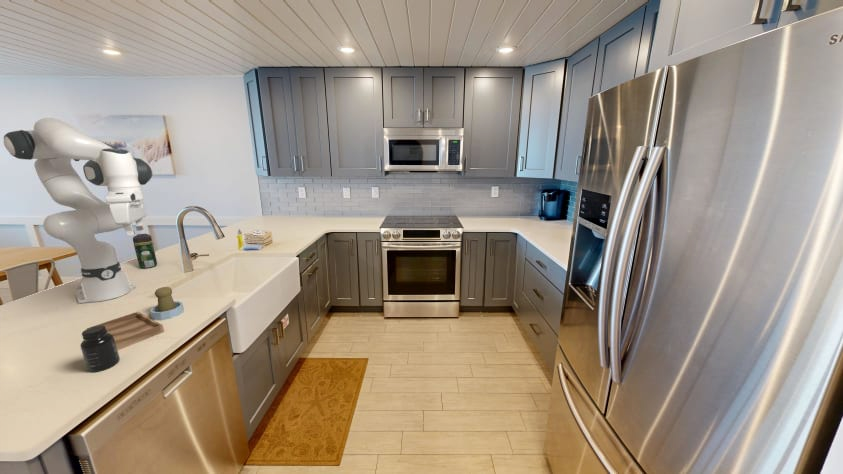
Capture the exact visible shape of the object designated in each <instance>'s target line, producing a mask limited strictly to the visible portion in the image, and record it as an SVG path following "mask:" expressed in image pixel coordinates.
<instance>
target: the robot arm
mask: <svg viewBox="0 0 843 474" xmlns="http://www.w3.org/2000/svg"><path fill="white" fill-rule="evenodd" d="M3 145H4V147H5V149H6V151H8V153H9V154H10V155H11V156H12V157H15V158H16V159H19V160H28V161H29V160H35V161H34V164H33V165H34V168H35V172H36V175H37V177H38V179H39V180H40V183H41V184H42V185H43V187H44V188H45V190H46V191H47V193H48V194H49V196H50V197H51V200H53V201H54V202H55V203H56V204H58V205H61V206H64V207H69V208H72V209H74V210H66V211H65V210H64V211H60V212H57V213H53V214H49V215H47V216H46V217H45V218H44V220H43V229H44V231H45V232H46V234H47V235H49V237H52V238H53V239H56V240H60V241H63V242H65V243H67V244H68V245H69V246H71V247H72V248H73V249H74V251H75V252H76V254H77V258H78V259H79V263H80V266H81V268H80V274H81V276H82V277H81V279H80V283H78V284H76V285H75V289H76V291H75V297H76V301H77V303H78V304H83V303H84V304H85V303H93V302H94V303H97V302H102V301H108V300H112V299H115V298H119V297H122V296H124V295H127V294H128V293H129V292H131V291H132V290H135V288H136V286H135V285H133V284H131V283H130V280H129V277H128V274H127V272H125V271H123V270H122V267H121V264H120V262H119V261H118V258H117V257H118V256H117V254H116V250H115V247H114V246H113V245H112V244H111V243H108V242H105V241H100V240H98V239H97V238H96V236H95V235H98V234H104V233H110V232H114V231H117V230H119V229H122V228H124V230H125V232H126V235H127V236H128V237H129V236H135V234H136V233H135V230H136V231H138V232H140V231H143V230H144V225H143V224H144V219H143V218H145V217H147V216H148V213H147V208H146V205H145V202H144V199H145V197H144V192H143V188H142V186H145V185H146V184H147V183H148V182H150V181H151V179H152V177H153V170H152V168H151V166H150V165H149V163H147V162H146V161H144V160H143V159H142V158H136V157H133V155H132V153H131V152H130V151H128V150H127V149H122V148H116V147H114V146H112V145H110V144H108V143H106V142H103V141H101V140H99V139H96V138H93V137H91V136H89V135H86V134H85V133H82V132H81V131H79V130H78V129H77V128H76V127H74V126H73V125H70V124H69V123H66V122H65V121H62V120H61V119H57V118H52V117H46V118H45V117H44V118H41V119H38V120H37V121H36V122H35V123H34V125H33V130H32V129H31V130H30V129H29V130H23V129H20V130H14V131H10V132H7V133H5V134H4V135H3ZM72 160H73V161H75V162H79V161H80V160H81V161H86V162H85V164H84V165H83V166H82V169H83V174H84V177H85V179H86V180H87V181H88V182H89V183H91V184H92V185H94V186H98V187H107V194H106V196H105V197H104V199H105V201H103V200H101V199H100V198H98V197H97V196H96V195H94V194H93V192H91V191H90V189H89V188H88V186H87V185H86V184H85V183H84V181H83V180H82V178H81V176H80V175H79V173H78V172H77V170H75V168H74V167H73V165H72ZM134 222H135V229H134V228H133V224H132V223H134Z"/></svg>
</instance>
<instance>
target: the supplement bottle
mask: <svg viewBox="0 0 843 474" xmlns="http://www.w3.org/2000/svg"><path fill="white" fill-rule="evenodd" d="M94 326H95V325H94ZM91 327H92V326H91ZM88 328H89V327H88ZM81 337H82V339H83V340H82V342H81V343H80V345H79V347H80V350H81V353H82V356H83V359H84V362H85V366H86V368H87V371H88V372H92V373H97V372H99V373H100V372H103V371H106V370H108V369H111V368H112V367H114V366H116V365H117V364H118V363H119V362H120V360H121V358H120V354H119V350H117V347H116V343H115V340H114V337H113V335H112V334H110V333H107V330H106V327H105V326H95V327H92V328H89V329H87V328H86V329H85V330H83V331H82V332H81Z"/></svg>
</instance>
